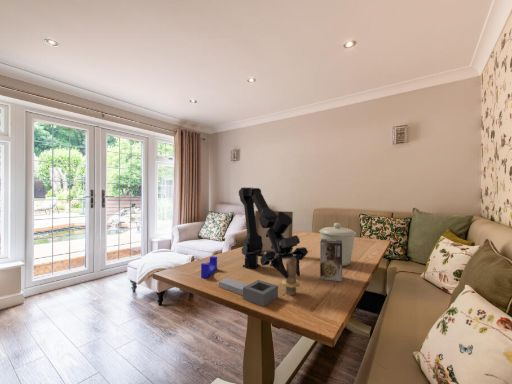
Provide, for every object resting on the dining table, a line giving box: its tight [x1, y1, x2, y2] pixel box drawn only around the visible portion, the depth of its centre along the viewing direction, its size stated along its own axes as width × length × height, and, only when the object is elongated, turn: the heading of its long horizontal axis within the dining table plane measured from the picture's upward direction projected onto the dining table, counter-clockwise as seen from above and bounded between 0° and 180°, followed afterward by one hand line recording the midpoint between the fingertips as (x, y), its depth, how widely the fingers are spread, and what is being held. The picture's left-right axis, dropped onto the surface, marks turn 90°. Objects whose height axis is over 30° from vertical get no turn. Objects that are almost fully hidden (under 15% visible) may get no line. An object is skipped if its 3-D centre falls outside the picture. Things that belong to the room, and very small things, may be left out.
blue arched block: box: [200, 255, 218, 279], centre depth 109 cm, size 12×4×6 cm, turn 170°
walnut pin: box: [281, 257, 301, 296], centre depth 89 cm, size 6×6×13 cm
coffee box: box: [319, 238, 343, 282], centre depth 104 cm, size 9×6×16 cm
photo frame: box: [254, 210, 294, 255], centre depth 143 cm, size 15×22×25 cm
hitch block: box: [218, 277, 279, 307], centre depth 89 cm, size 9×23×4 cm, turn 53°
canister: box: [318, 222, 357, 267], centre depth 125 cm, size 18×18×21 cm
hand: (293, 276), depth 87 cm, fingers open, 5 cm apart
